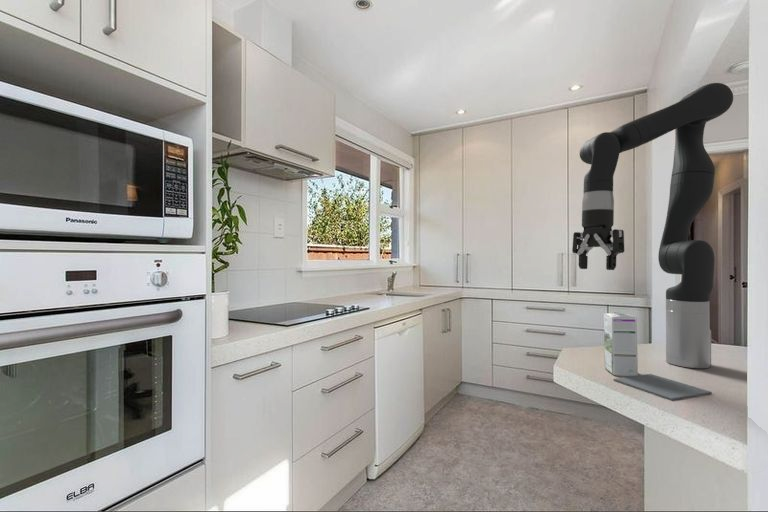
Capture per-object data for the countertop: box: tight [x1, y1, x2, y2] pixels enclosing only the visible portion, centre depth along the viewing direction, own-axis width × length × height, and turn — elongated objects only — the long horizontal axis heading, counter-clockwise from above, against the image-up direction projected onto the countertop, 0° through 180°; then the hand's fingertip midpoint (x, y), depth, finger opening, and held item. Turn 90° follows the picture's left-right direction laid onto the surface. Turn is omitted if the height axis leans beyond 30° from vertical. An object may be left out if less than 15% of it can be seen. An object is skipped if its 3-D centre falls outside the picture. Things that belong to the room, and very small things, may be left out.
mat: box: [613, 373, 712, 401], centre depth 84 cm, size 12×13×1 cm
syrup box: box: [603, 312, 639, 377], centre depth 95 cm, size 6×6×14 cm
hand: (596, 269), depth 103 cm, fingers open, 8 cm apart
